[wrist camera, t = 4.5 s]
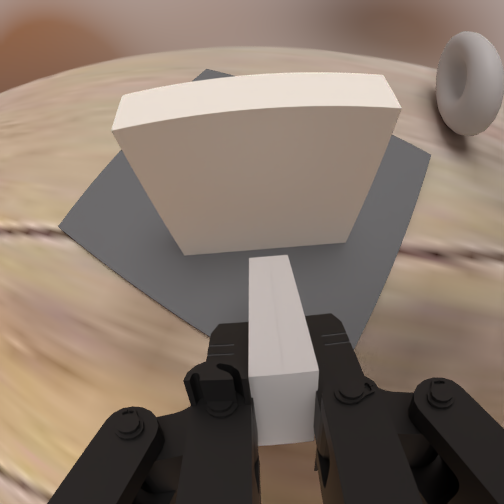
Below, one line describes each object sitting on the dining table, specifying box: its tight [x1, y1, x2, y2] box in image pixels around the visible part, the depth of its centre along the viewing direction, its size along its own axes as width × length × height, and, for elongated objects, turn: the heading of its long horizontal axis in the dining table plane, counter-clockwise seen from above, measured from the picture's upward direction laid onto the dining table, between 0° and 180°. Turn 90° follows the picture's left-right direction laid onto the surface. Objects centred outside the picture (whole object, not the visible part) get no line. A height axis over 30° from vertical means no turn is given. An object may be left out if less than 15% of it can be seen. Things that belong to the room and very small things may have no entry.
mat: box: [58, 69, 431, 350], centre depth 22 cm, size 22×20×1 cm
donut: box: [436, 31, 504, 136], centre depth 20 cm, size 10×3×10 cm, turn 171°
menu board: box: [111, 72, 402, 256], centre depth 15 cm, size 2×10×11 cm, turn 93°
